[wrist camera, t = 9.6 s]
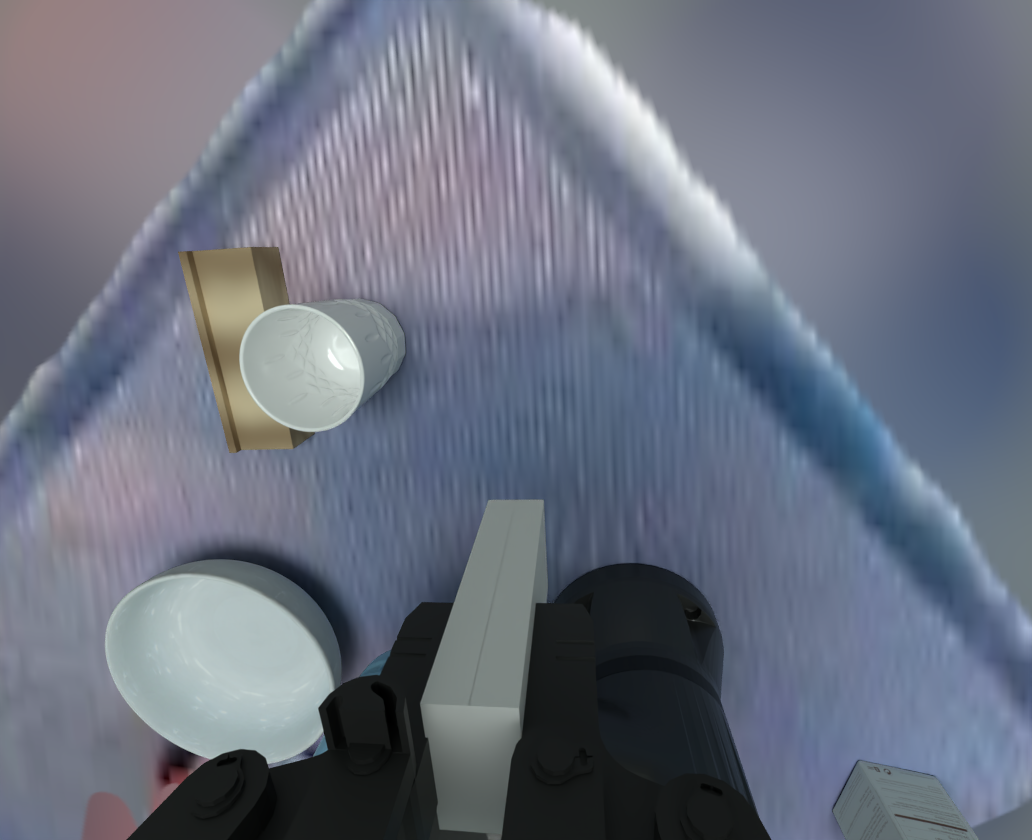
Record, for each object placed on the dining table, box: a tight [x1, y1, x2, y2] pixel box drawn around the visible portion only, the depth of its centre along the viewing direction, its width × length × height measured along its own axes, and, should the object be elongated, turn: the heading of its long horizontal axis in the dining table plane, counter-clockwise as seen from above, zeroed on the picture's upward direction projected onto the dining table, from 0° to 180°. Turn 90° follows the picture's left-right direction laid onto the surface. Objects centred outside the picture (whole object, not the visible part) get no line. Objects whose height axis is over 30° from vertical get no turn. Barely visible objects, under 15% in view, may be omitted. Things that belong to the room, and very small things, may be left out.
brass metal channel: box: [178, 247, 315, 453], centre depth 39 cm, size 15×5×4 cm, turn 3°
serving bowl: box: [105, 559, 342, 764], centre depth 48 cm, size 21×21×7 cm
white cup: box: [239, 298, 406, 432], centre depth 36 cm, size 8×8×10 cm
